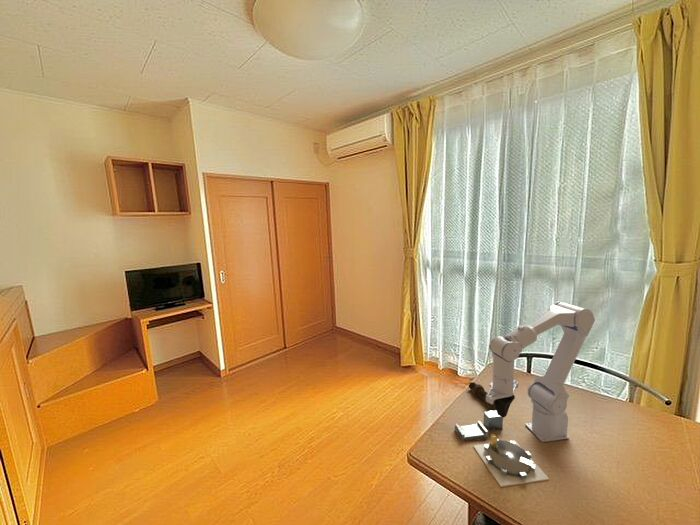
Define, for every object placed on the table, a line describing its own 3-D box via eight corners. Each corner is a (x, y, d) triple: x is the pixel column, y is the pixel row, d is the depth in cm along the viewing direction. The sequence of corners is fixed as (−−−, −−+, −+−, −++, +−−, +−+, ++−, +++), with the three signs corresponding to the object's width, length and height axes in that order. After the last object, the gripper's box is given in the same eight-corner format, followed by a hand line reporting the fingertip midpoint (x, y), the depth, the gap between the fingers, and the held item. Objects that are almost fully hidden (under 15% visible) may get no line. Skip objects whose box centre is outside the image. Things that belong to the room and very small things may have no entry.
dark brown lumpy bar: (473, 393, 121) (498, 415, 106) (463, 389, 120) (487, 411, 105) (479, 380, 121) (505, 401, 106) (469, 376, 120) (494, 396, 105)
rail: (479, 427, 99) (479, 420, 99) (488, 438, 94) (488, 431, 94) (454, 430, 98) (454, 423, 98) (461, 441, 93) (462, 434, 93)
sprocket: (490, 436, 94) (490, 420, 93) (538, 456, 85) (539, 438, 85) (478, 463, 84) (478, 446, 83) (531, 489, 75) (532, 469, 75)
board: (514, 441, 92) (514, 439, 92) (548, 479, 79) (549, 478, 78) (473, 446, 91) (473, 445, 91) (500, 487, 77) (500, 485, 77)
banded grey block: (497, 423, 101) (497, 409, 100) (502, 429, 98) (502, 415, 97) (483, 424, 100) (483, 411, 99) (488, 431, 97) (488, 417, 96)
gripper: (503, 363, 96) (502, 400, 98) (477, 377, 89) (476, 417, 91) (525, 372, 90) (523, 411, 92) (499, 388, 83) (497, 430, 85)
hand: (501, 415), depth 91 cm, fingers closed
